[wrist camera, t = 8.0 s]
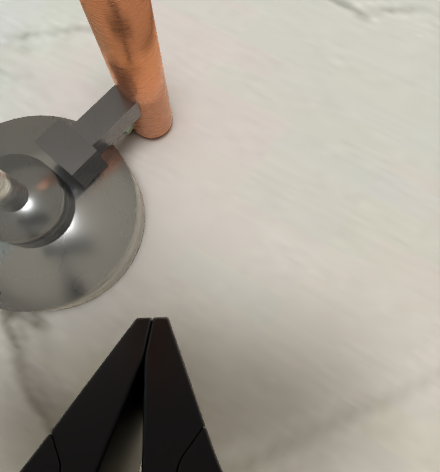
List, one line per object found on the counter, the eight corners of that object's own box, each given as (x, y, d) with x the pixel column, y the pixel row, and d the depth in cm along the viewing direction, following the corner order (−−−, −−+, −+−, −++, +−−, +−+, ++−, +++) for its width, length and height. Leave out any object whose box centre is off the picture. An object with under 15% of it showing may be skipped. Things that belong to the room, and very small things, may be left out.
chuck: (67, 348, 19) (-14, 375, 12) (-75, 240, 19) (-229, 206, 13) (179, 200, 20) (166, 148, 14) (44, 106, 21) (-34, 12, 14)
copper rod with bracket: (98, 200, 20) (1, 109, 10) (68, 173, 20) (-55, 59, 11) (180, 117, 21) (159, -33, 11) (150, 92, 21) (106, -75, 12)
